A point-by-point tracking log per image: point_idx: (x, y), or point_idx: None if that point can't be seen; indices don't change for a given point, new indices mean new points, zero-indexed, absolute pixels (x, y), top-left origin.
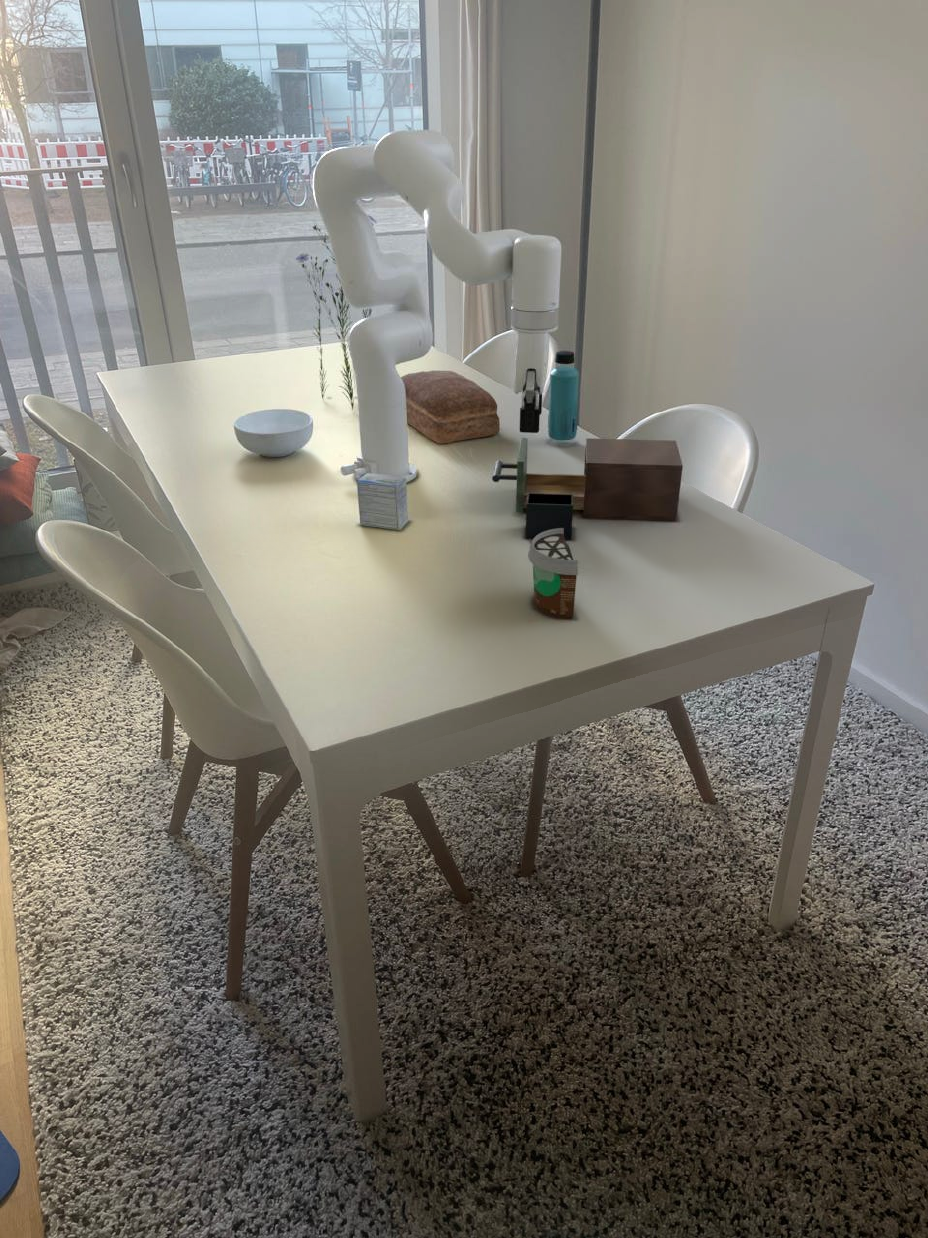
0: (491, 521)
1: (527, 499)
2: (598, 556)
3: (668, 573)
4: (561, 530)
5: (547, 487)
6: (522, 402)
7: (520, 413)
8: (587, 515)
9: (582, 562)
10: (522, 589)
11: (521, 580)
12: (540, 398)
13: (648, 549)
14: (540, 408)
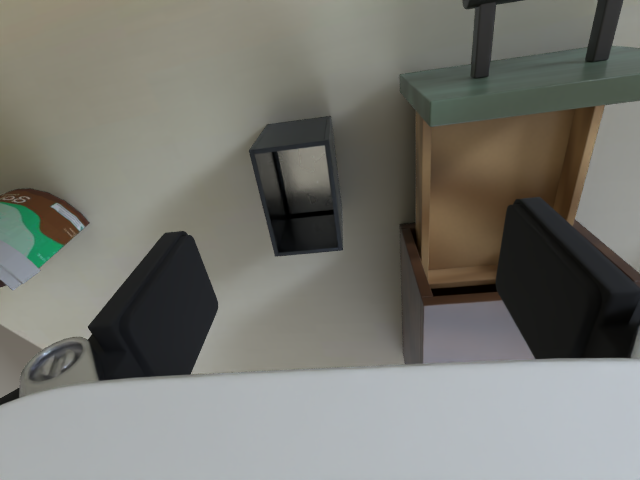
0: (347, 9)
1: (279, 148)
2: (234, 262)
3: (216, 344)
4: (11, 284)
5: (545, 137)
6: (22, 393)
7: (109, 302)
8: (400, 234)
9: (201, 242)
10: (49, 160)
11: (80, 152)
12: (537, 357)
13: (286, 323)
14: (508, 308)
